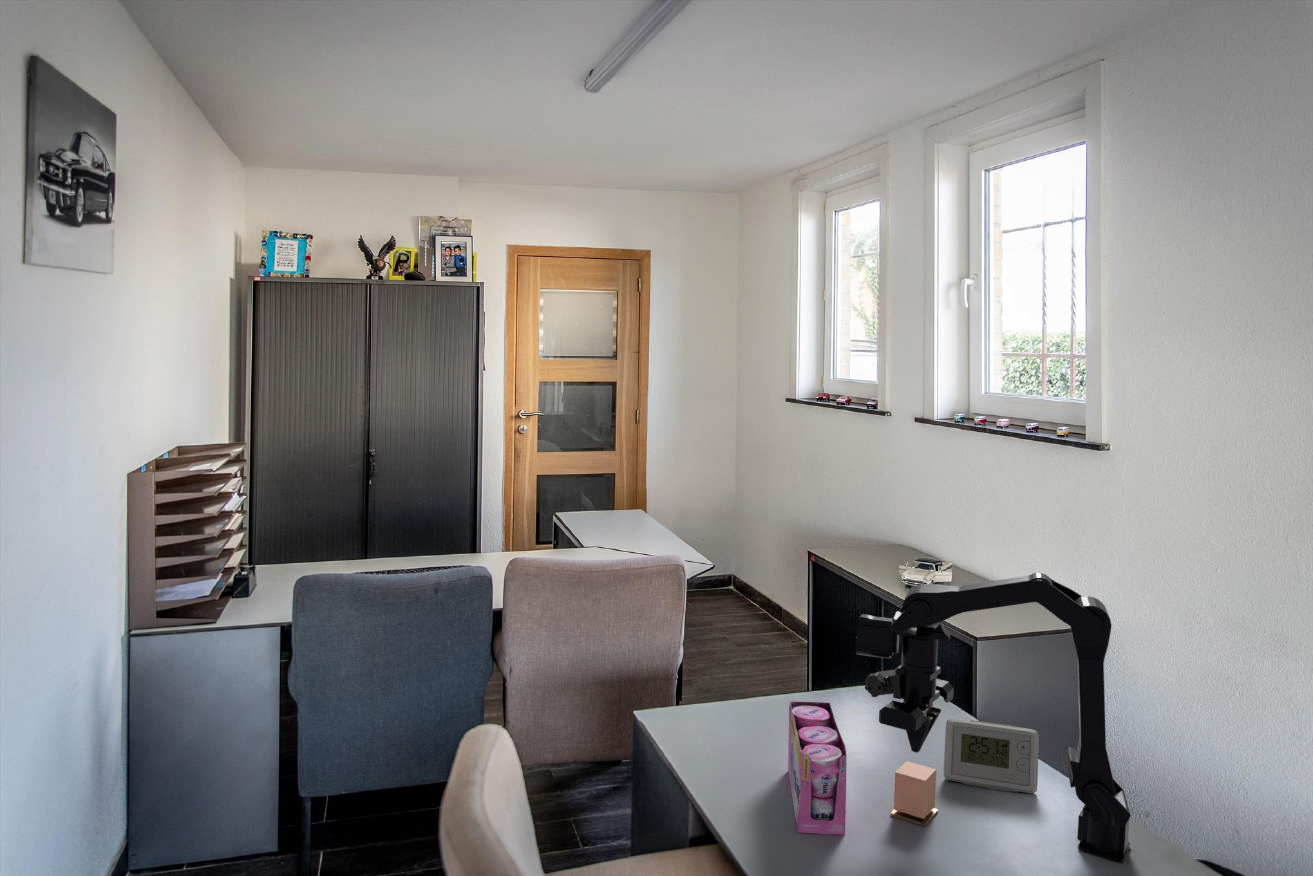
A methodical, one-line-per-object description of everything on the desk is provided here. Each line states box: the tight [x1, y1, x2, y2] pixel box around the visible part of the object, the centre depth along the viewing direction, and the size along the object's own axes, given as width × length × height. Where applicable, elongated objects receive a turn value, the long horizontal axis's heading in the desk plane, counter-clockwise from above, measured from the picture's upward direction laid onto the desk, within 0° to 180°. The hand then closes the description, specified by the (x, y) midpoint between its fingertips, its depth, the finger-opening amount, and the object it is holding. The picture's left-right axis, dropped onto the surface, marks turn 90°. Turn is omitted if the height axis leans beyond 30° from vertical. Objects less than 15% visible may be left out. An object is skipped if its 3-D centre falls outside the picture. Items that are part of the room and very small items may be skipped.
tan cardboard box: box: [893, 760, 937, 819], centre depth 155 cm, size 5×5×7 cm
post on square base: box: [889, 807, 939, 828], centre depth 155 cm, size 6×6×7 cm
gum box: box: [787, 701, 848, 836], centre depth 159 cm, size 24×8×14 cm, turn 176°
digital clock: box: [943, 718, 1040, 794], centre depth 167 cm, size 16×9×11 cm, turn 59°
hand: (915, 751), depth 154 cm, fingers closed
